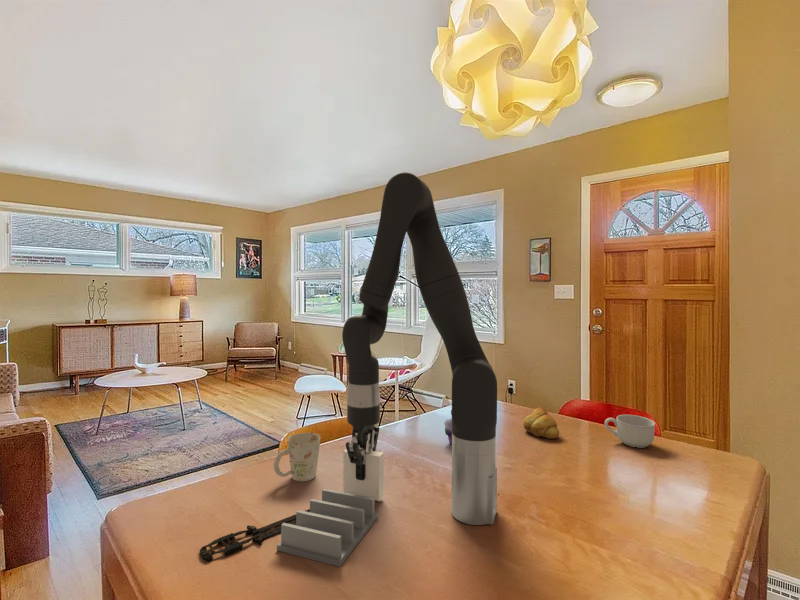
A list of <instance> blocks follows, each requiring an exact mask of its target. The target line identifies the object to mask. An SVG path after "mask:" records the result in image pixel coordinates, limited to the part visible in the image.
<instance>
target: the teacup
mask: <svg viewBox="0 0 800 600" xmlns="http://www.w3.org/2000/svg"><path fill="white" fill-rule="evenodd" d="M609 422H613V423H614V426H615V428H616V429H615V430H614V429H612V428H611V427H610V426H609ZM604 426H605V428H606V429H607V430H608V431H609V432H610V433H612V434H613V436H615V437H616V438H618V439H619V440H620V441H621V442H622V443H623V444H625V445H626V446H629V447H632V448H635V447H637V448H636V449H644V448H646V447H648V446H650V445H652V444H653V442H654V440H655V430H656V429H655V428H656V427H655V426H656V422H655V421H654V420H652V419H650V418H647V417H645V416H640V415H636V414H635V415H634V414H619V415H617V416H616V418H614V417H607V418H606V419H605V421H604Z"/></svg>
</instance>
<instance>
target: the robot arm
mask: <svg viewBox="0 0 800 600" xmlns="http://www.w3.org/2000/svg"><path fill="white" fill-rule="evenodd" d="M379 215H380V216H379V222H378V227H377V232H376V237H375V242H374V245H373V250H372V253H371V257H370V260H369V263H368V267H367V269H366V272H365V276H364V279H363V283H362V285H361V288H360V291H359V298H358V299H359V301H360V303H362V305H363V308H362V313H361V315H352V316H351V317H349V318H348V319H346V321H345V322H344V325H343V328H342V333H341V334H342V335H341V336H342V337H341V338H342V344H343V349H344V353H345V358H346V361H347V364H348V365H347V366H348V370H347V371H348V372H347V373H348V375H347V376H348V381H347V383H348V384H347V392H346V393H347V395H346V404H347V405H346V421H347V424H348V425H350V426H352V431H351V438H352V439H351V441H346V443H345V448H346V449H347V452H348V456H349V459H350V462H351V463H354V464H356V479H357V480H364V479H365V472H366V464H365V463H366V453H368V450H369V451H376V450H377V446H378V445H377V444H378V440H379V433H380V427H379V426H375V425H377V424H379V422H380V421H381V420H380V419H381V391H380V390H381V389H380V363H379V360H378V358H377V357H375V356H373V355H372V349H371V345H374V344H376V343H378V342H379V341H380V340H381V339H382V337H383V335H384V333H385V331H386V327H387V322H388V315H389V303H390V301H391V299H392V295H393V292H394V289H395V286H396V283H397V280H398V276H399V271H400V265H401V256H402V250H403V249H402V248H403V244H404V241H405V238H406V234H407V236H408V238H409V241H410V244H411V247H412V255H413V265H414V272H415V273H414V274H415V279H416V282H417V287H418V289H419V292H420V295H421V298H422V301H423V304H424V306H425V308H426V311H427V313H428V315H429V316H430V318H431V321H432V323H433V325H434V326H435V328H436V330H437V332H438V333H439V335H440V337H441V339H442V341H443V344H444V346H445V350H446V353H447V356H448V361H449V365H450V369H451V373H452V378H451V410H452V415H451V419H452V446H451V504H450V505H451V514H452V516H453V518H454V519H456V521H457V520H458V522H461V523H462V524H466V525H471V526H483V525H491V526H492V525H494V523H495V518H496V515H497V510H498V468H497V465H496V462H497V461H496V456H497V455H496V454H497V453H496V452H497V451H496V449H497V448H496V447H497V446H496V445H497V443H496V440H497V438H496V436H497V435H496V434H497V433H496V431H497V422H498V380H497V376H496V373H495V371H494V369H493V367H492V365H491V364H490V362H489V361H488V358H487V356H486V354H485V351H484V350H483V347H482V346H481V344H480V341H479V339H478V336H477V334H476V331H475V327H474V324H473V319H472V313H471V309H470V305H469V301H468V296H467V294H466V290H465V287H464V284H463V281H462V278H461V276H460V273H459V271H458V268H457V266H456V263H455V261H454V259H453V255H452V254H451V251H450V249H449V247H448V245H447V243H446V241H445V239H444V236H443V234H442V231H441V227H440V225H439V221H438V217H437V212H436V208H435V204H434V200H433V195H432V191H431V190H430V187H429V186H428V185H427V184H426V183H425V182H424V180H422V179H421V178H420V177H419V176H418V175H415V174H414V173H412V172H407V171H406V172H405V171H403V172H399V173H397V174H395V175H393V176H392V177H391V178H389V180H388V181H387V183H386V186H385V188H384V191H383V197H382V203H381V209H380V214H379ZM346 449H345V450H346ZM376 452H377V451H376ZM361 454H362V457H361Z"/></svg>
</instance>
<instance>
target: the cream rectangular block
mask: <svg viewBox="0 0 800 600" xmlns="http://www.w3.org/2000/svg"><path fill="white" fill-rule="evenodd" d="M342 454H343V457H342V458H343V460H342V461H343V466H342V467H343V472H342V473H343V476H342V477H343V478H342V481H343V483H342V484H343V488H342V490H343V491H342V492H345V493H350V494H355V495H361V496H366V497H371V498H374V501H377V502H380V501H381V499H383V498H384V476H385V475H384V472H385V471H384V459H385V458H384V457H385V455H384V454H385V453H384V452H381V451H369V450H368V453H366V463H365V464H366V472H365V479H364V480H357V479H356V464H354V463H351V462H350V459H349V456H348V452H347V449H344V450H343V452H342ZM361 457H362V454H361Z"/></svg>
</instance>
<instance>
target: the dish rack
mask: <svg viewBox="0 0 800 600" xmlns="http://www.w3.org/2000/svg"><path fill="white" fill-rule="evenodd" d="M309 509H310V512H306V510H300V509H298V510H297V511H296V513H295V514H296V525H292V524H288V523H289V522H288V523H283V524H282V525H281V531H280V538H281V539H280V541H279V543H277V544H276V551H278V552H282V553H286V554H290V555H292V556H297V557H300V558H304V559H308V560H312V561H315V562H319V563H320V562H321V563H323V564H328V565H331V566H336V567H340V568H341V566H342V565H343V564H344V562H345V561H346V560H347V559H348V557H349V556H350V555H351V554H352V552H353V551H354V549H355V548H356V547H357V545H358V544H359V543H360V542H361V541H362V539H363V538H364V537H365V535H366V534H367V533H368V531H369V530H370V529H371V527H373V525H374V524H375V522H376V521H377V520H378V513H375V500H374V498H371V497H366V496H361V495H355V494H350V493H345V492H343V491H339V490H332V489H328V488H323V489H321V500H320V499H315V498H311V499H310V500H309Z"/></svg>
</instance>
